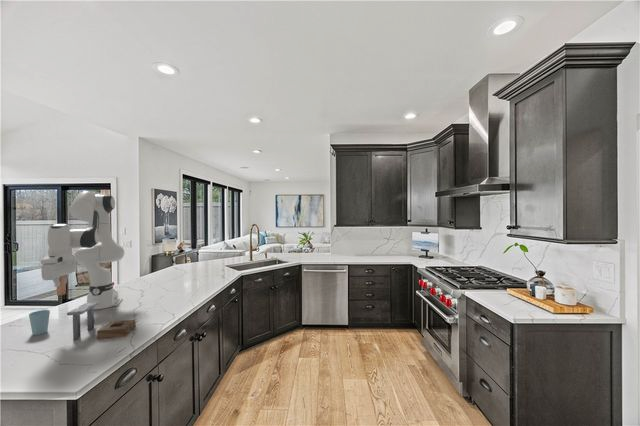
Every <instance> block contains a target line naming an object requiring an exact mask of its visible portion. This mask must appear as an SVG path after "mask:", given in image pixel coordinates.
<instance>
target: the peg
mask: <svg viewBox="0 0 640 426" xmlns="http://www.w3.org/2000/svg"><path fill="white" fill-rule="evenodd" d="M59 278H60V279H59V282H61V286H58V287H56V296H64V295H66V294H67V290H66V289H67V286H66V285H67V283H66V278H65V275H64V276H61V277H59Z"/></svg>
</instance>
